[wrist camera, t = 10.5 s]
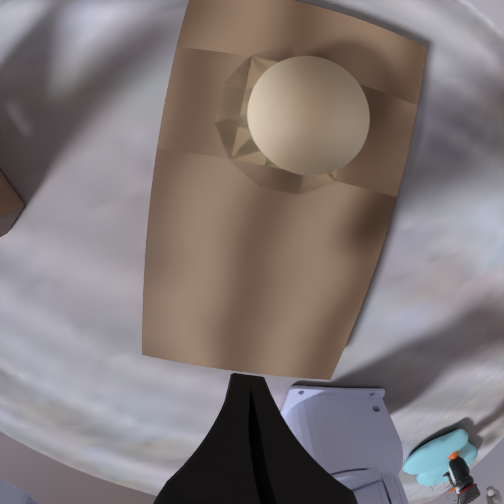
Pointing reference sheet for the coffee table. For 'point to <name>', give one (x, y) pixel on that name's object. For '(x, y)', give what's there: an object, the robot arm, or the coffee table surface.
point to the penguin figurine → (449, 466)
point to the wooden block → (8, 205)
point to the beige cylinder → (308, 115)
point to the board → (268, 194)
